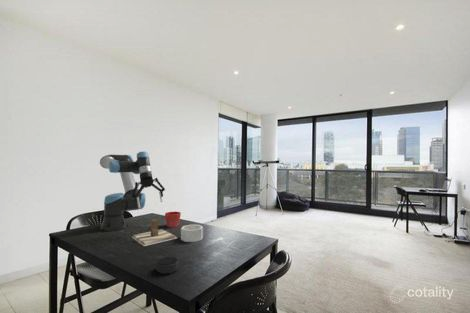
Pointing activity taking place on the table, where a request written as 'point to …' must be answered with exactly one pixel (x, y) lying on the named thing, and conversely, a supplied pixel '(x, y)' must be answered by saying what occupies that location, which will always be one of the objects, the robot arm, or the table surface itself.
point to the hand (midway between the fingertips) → (150, 204)
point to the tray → (152, 243)
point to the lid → (154, 235)
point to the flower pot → (172, 219)
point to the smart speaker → (167, 265)
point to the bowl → (191, 233)
